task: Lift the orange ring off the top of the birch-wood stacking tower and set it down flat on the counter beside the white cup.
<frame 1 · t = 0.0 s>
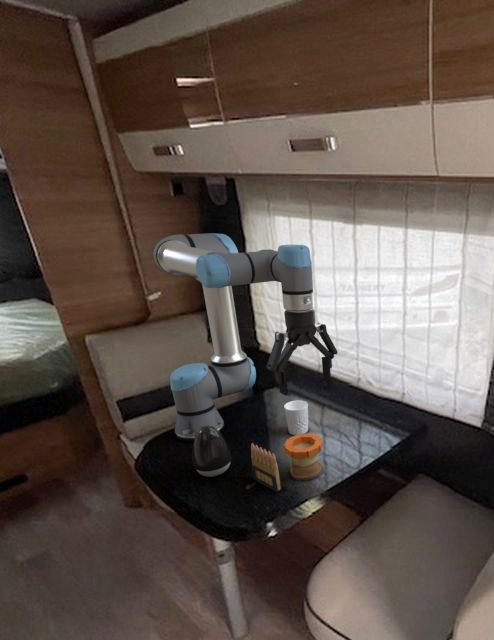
hand: (306, 386, 113), 28 cm above the table, tool pointing down, fingers open, 13 cm apart
stacking tower: (306, 471, 125), on the table
orange ring: (304, 448, 122), point 8 cm above the table, touching stacking tower
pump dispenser: (215, 472, 124), on the table
ammunition clip: (267, 484, 119), on the table
white cup: (298, 431, 147), on the table
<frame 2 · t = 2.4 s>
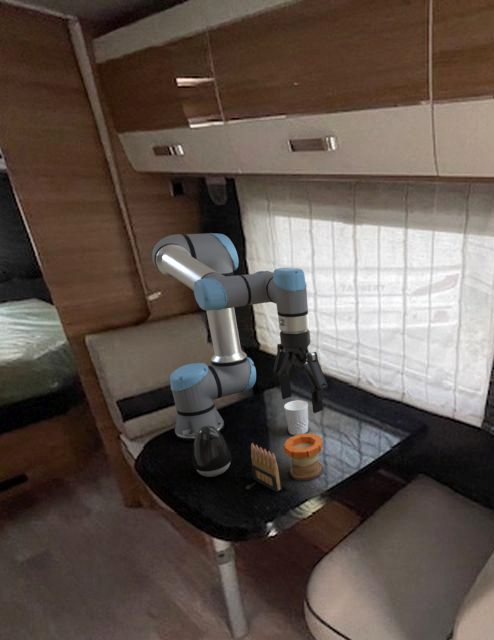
hand: (301, 404, 116), 22 cm above the table, tool pointing down, fingers open, 13 cm apart
nothing on the table moved.
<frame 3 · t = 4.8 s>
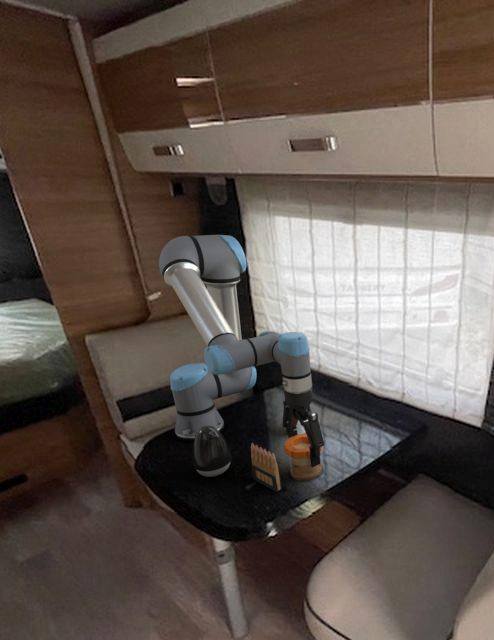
hand: (304, 457, 123), 5 cm above the table, tool pointing down, fingers closed on orange ring, 10 cm apart
orange ring: (304, 448, 122), point 8 cm above the table, touching gripper, stacking tower
everything else where it was.
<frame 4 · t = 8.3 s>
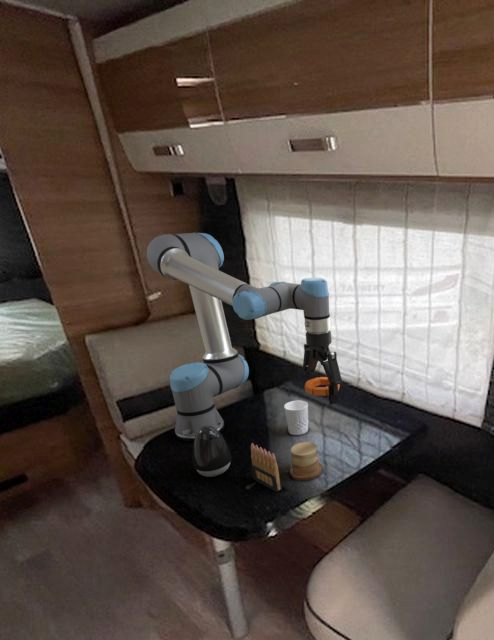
hand: (323, 397, 134), 17 cm above the table, tool pointing down, fingers closed on orange ring, 10 cm apart
orange ring: (322, 388, 133), point 20 cm above the table, touching gripper
everything else where it was.
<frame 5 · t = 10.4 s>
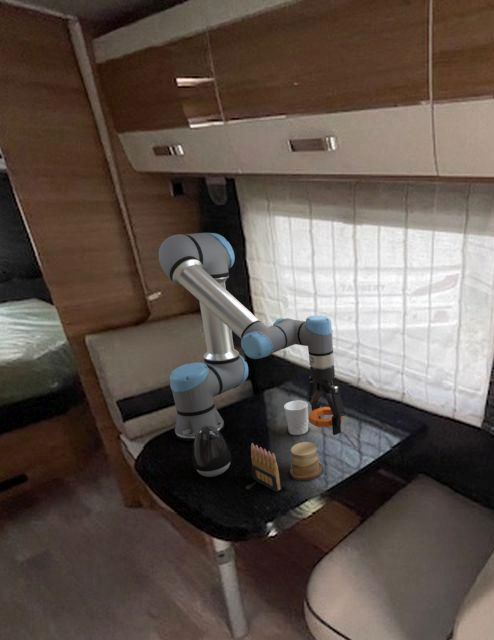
hand: (326, 427, 139), 5 cm above the table, tool pointing down, fingers closed on orange ring, 10 cm apart
orange ring: (326, 419, 138), point 8 cm above the table, touching gripper
everything else where it was.
when the fingers open (1 cm above the table, at t = 12.1 s): orange ring drops 4 cm, on the table.
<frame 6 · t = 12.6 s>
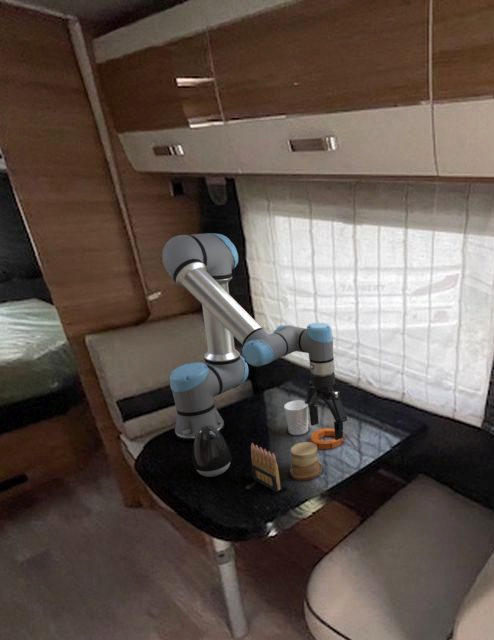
hand: (326, 431, 140), 4 cm above the table, tool pointing down, fingers open, 13 cm apart
orange ring: (327, 440, 141), on the table
everything else where it was.
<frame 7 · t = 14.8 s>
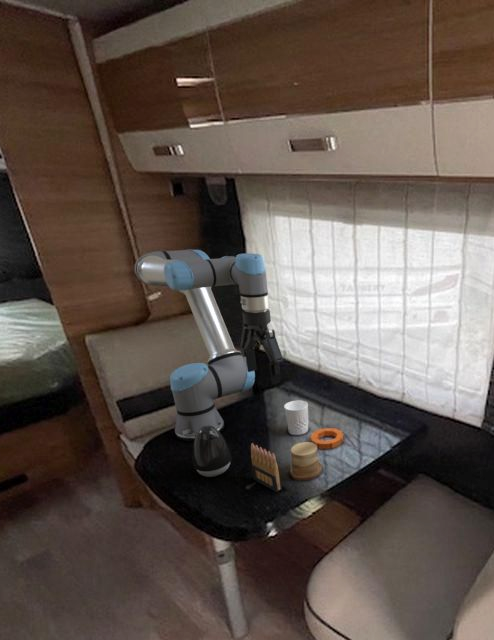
hand: (263, 376, 130), 24 cm above the table, tool pointing down, fingers open, 13 cm apart
nothing on the table moved.
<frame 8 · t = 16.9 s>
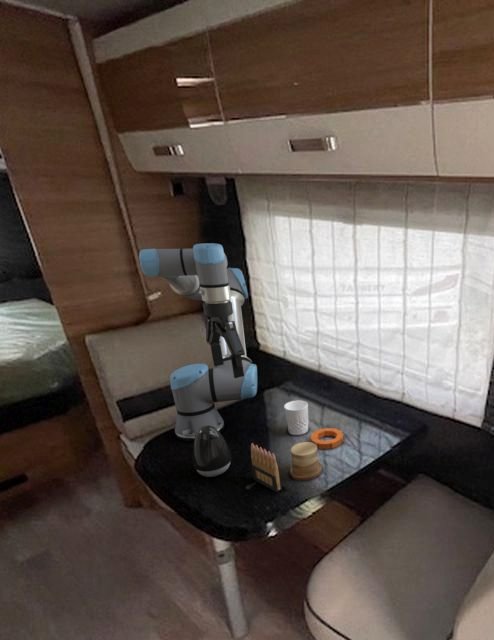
hand: (228, 370, 126), 27 cm above the table, tool pointing down, fingers open, 13 cm apart
nothing on the table moved.
at the end: orange ring on the table; orange ring 13.2 cm from the white cup (horizontally); orange ring tilted 0° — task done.
